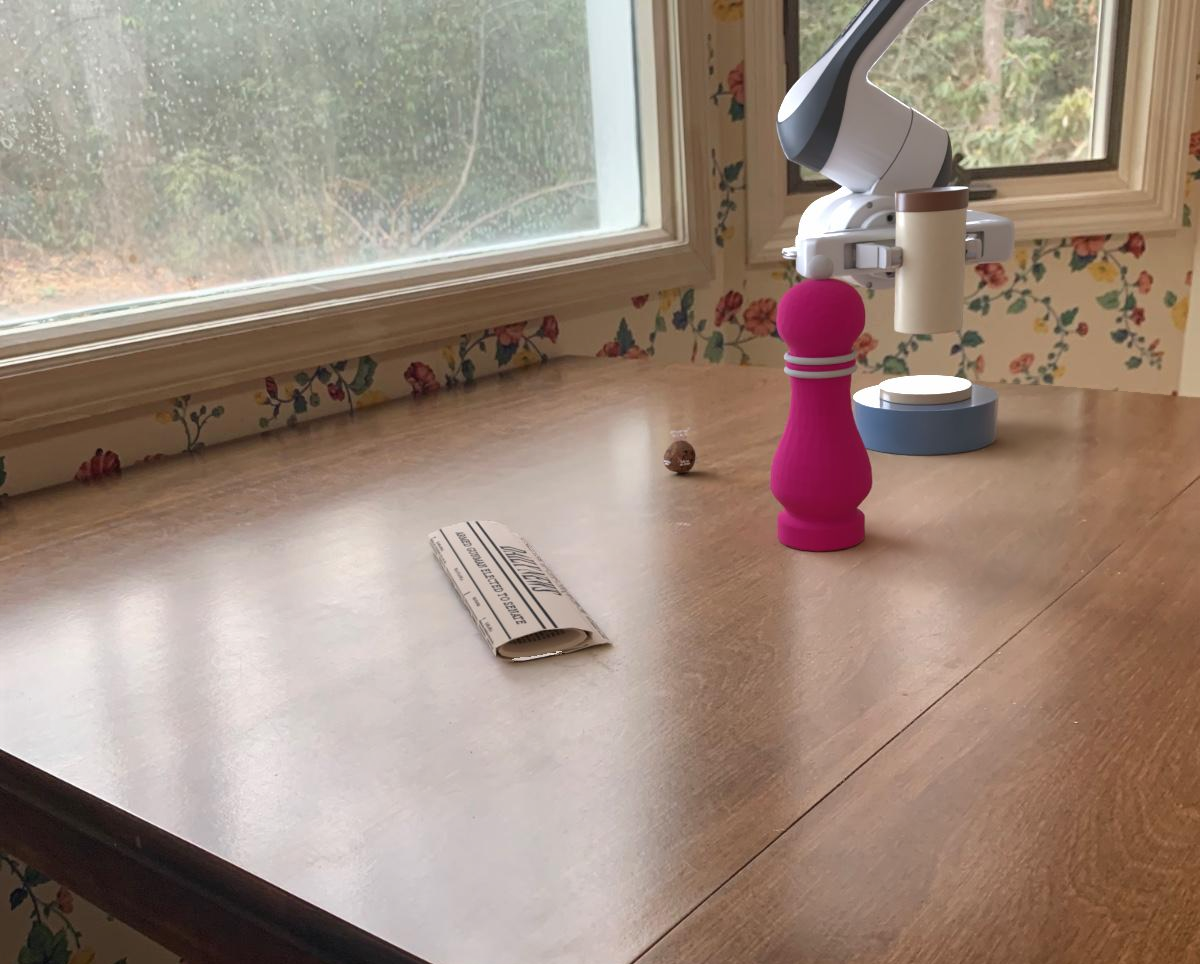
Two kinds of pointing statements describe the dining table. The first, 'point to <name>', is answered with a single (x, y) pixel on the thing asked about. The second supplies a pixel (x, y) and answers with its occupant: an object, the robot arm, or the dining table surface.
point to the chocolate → (680, 455)
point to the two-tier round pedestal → (926, 415)
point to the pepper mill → (821, 416)
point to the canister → (930, 259)
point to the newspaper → (511, 592)
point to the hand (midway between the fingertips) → (934, 254)
